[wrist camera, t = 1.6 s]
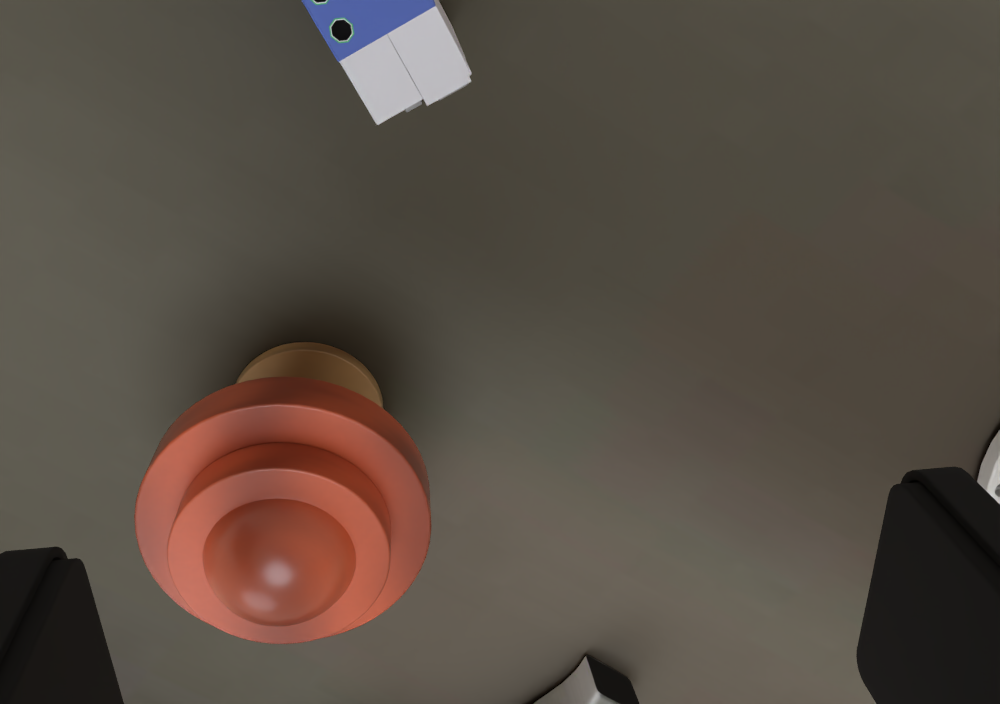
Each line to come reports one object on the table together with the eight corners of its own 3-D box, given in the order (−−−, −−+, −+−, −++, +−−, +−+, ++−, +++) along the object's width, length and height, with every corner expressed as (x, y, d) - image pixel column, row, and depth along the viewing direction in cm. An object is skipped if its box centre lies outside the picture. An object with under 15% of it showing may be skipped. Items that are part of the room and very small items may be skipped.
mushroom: (410, 288, 37) (413, 441, 26) (437, 491, 42) (450, 693, 31) (161, 315, 37) (62, 484, 26) (216, 518, 41) (150, 734, 30)
